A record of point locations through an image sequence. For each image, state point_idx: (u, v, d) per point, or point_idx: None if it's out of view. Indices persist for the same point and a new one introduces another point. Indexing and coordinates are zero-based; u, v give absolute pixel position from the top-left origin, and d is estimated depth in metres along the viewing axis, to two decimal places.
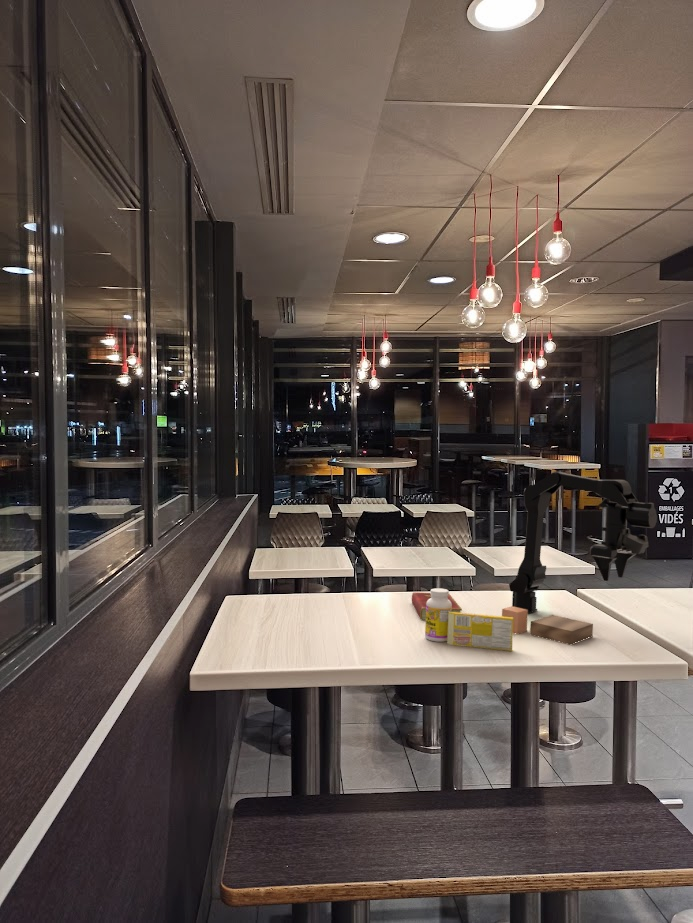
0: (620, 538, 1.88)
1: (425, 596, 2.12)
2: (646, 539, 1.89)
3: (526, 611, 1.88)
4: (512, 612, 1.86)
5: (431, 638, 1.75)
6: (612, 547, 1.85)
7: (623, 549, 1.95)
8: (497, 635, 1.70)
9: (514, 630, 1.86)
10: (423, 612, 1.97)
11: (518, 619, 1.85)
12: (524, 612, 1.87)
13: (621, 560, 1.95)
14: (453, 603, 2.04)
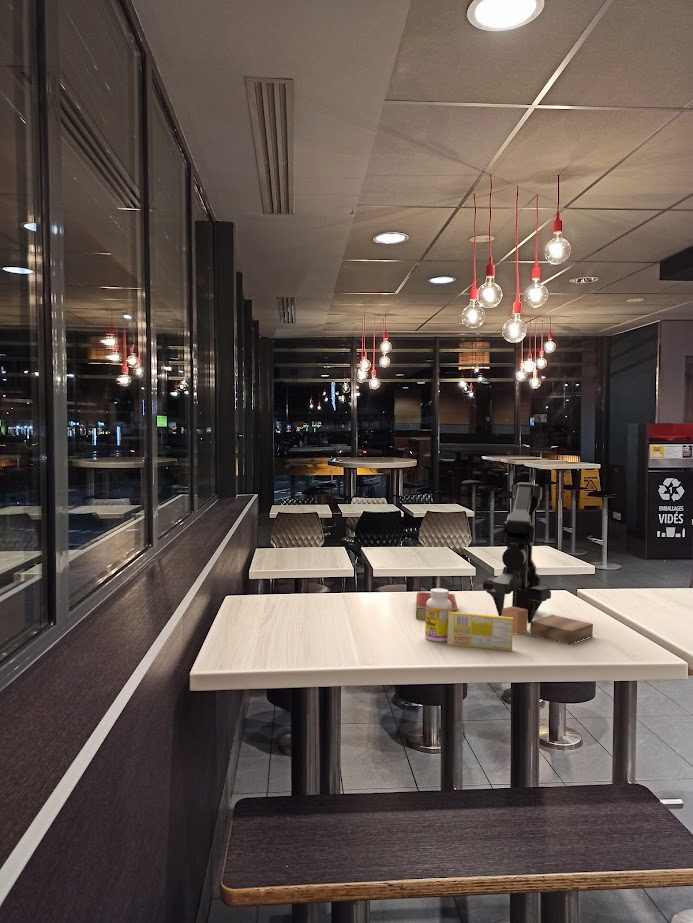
0: None
1: (427, 596, 2.12)
2: (512, 581, 1.81)
3: (526, 611, 1.88)
4: (512, 612, 1.86)
5: (431, 638, 1.75)
6: (490, 581, 1.92)
7: None
8: (497, 635, 1.70)
9: (514, 630, 1.86)
10: (419, 611, 1.98)
11: (518, 619, 1.85)
12: (524, 612, 1.87)
13: None
14: (452, 603, 2.03)
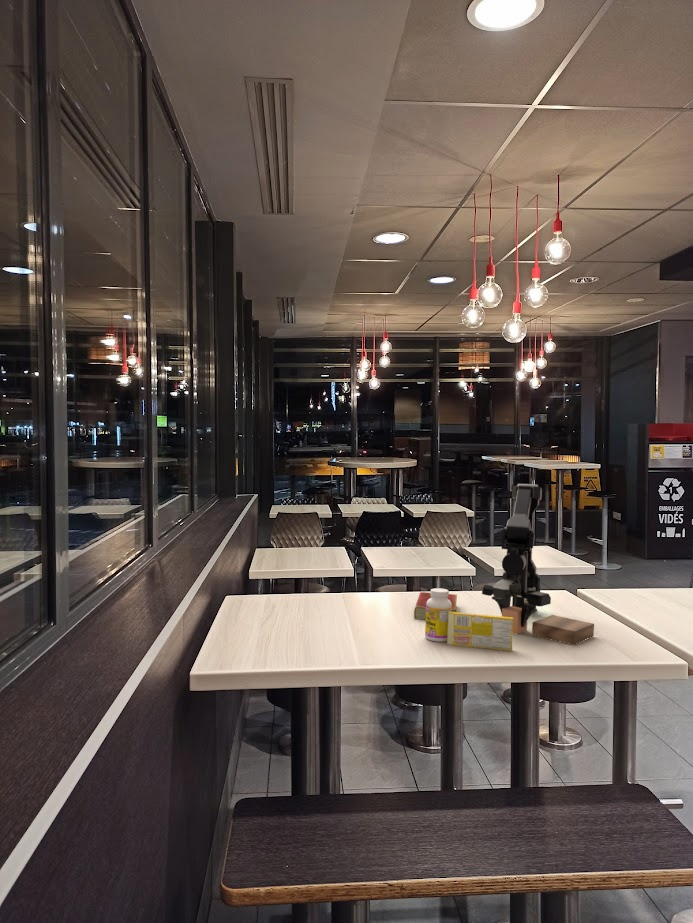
0: None
1: (429, 596, 2.12)
2: (512, 587, 1.81)
3: None
4: (512, 612, 1.86)
5: (431, 638, 1.75)
6: (490, 586, 1.92)
7: None
8: (497, 635, 1.70)
9: (514, 630, 1.86)
10: (417, 611, 1.98)
11: (518, 619, 1.85)
12: None
13: None
14: (452, 604, 2.03)
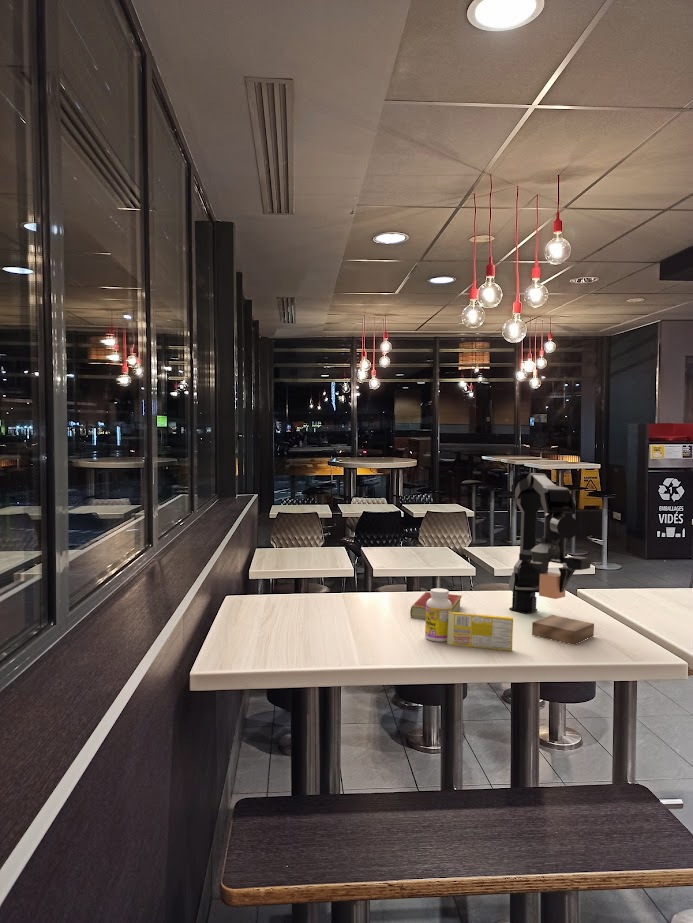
0: None
1: None
2: (551, 550, 1.78)
3: None
4: (550, 577, 1.83)
5: (431, 638, 1.75)
6: (527, 551, 1.89)
7: None
8: (497, 635, 1.70)
9: (552, 595, 1.82)
10: (413, 610, 1.99)
11: (557, 584, 1.82)
12: None
13: None
14: None
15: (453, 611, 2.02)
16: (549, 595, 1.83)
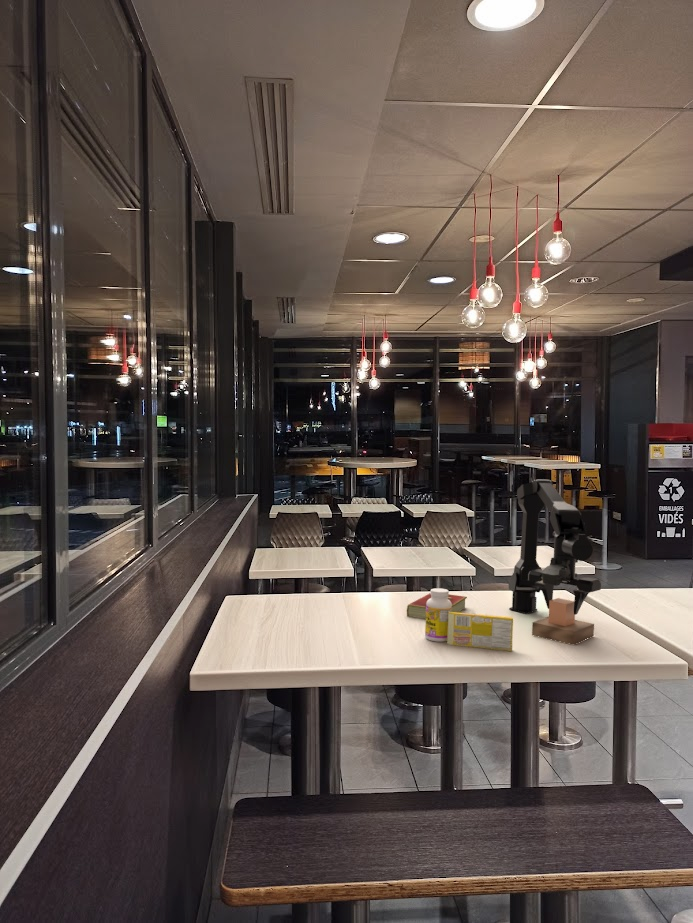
0: None
1: None
2: (562, 572, 1.77)
3: None
4: (560, 604, 1.82)
5: (431, 638, 1.75)
6: (536, 572, 1.88)
7: None
8: (497, 635, 1.70)
9: (562, 622, 1.82)
10: (409, 609, 2.00)
11: (567, 611, 1.82)
12: (572, 604, 1.83)
13: None
14: None
15: None
16: (559, 622, 1.83)
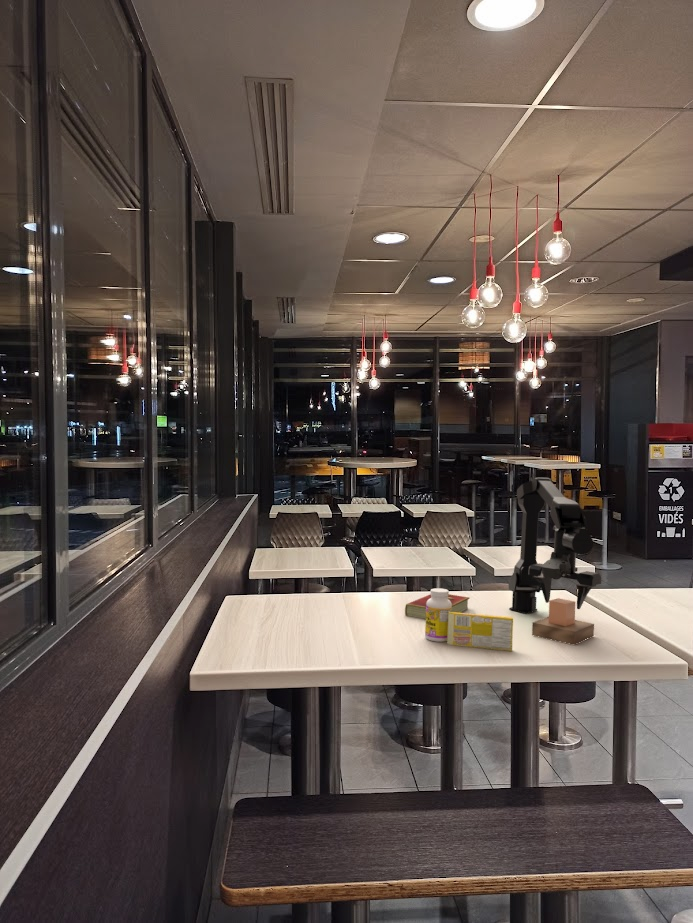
0: None
1: None
2: (562, 566, 1.77)
3: (574, 603, 1.84)
4: (560, 604, 1.82)
5: (431, 638, 1.75)
6: (537, 566, 1.88)
7: None
8: (497, 635, 1.70)
9: (562, 622, 1.82)
10: (408, 608, 2.01)
11: (567, 611, 1.82)
12: (572, 604, 1.83)
13: None
14: None
15: None
16: (559, 622, 1.82)
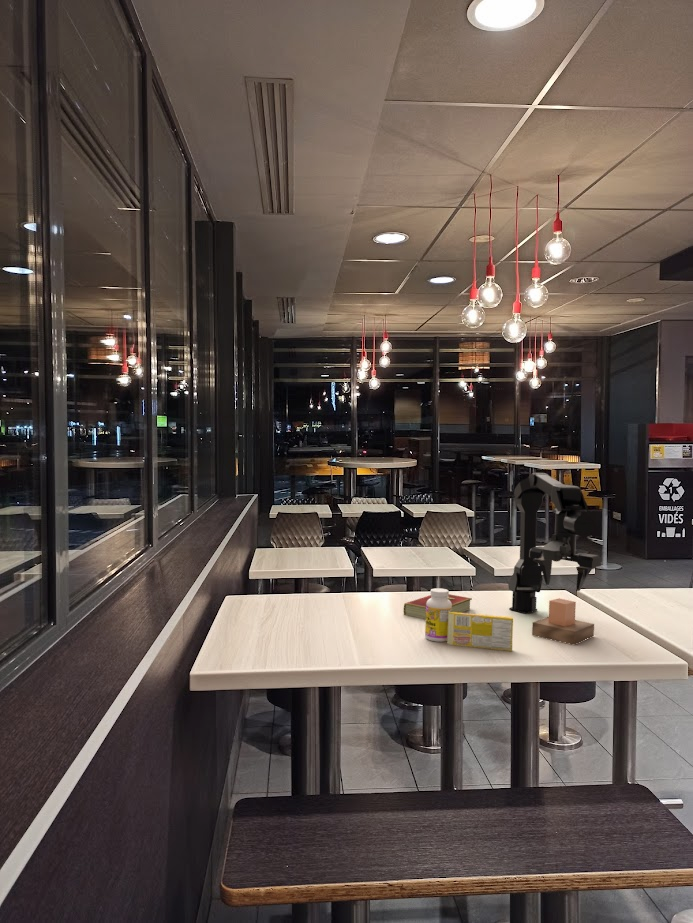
0: None
1: None
2: (562, 548, 1.79)
3: (574, 603, 1.84)
4: (560, 604, 1.82)
5: (431, 638, 1.75)
6: (537, 549, 1.90)
7: None
8: (497, 635, 1.70)
9: (562, 622, 1.82)
10: (406, 607, 2.02)
11: (566, 611, 1.81)
12: (572, 604, 1.83)
13: None
14: None
15: None
16: (559, 622, 1.82)
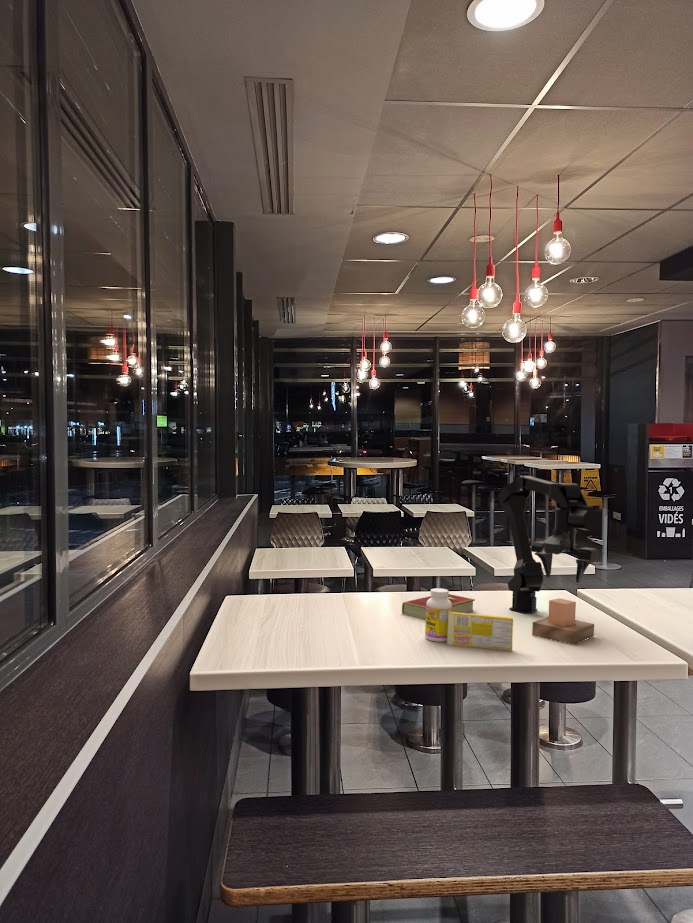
0: None
1: None
2: (562, 542, 1.89)
3: (574, 603, 1.84)
4: (559, 604, 1.83)
5: (431, 638, 1.75)
6: (538, 543, 2.00)
7: None
8: (497, 635, 1.70)
9: (561, 622, 1.82)
10: (405, 606, 2.03)
11: (566, 611, 1.82)
12: (572, 604, 1.83)
13: None
14: None
15: None
16: (558, 622, 1.83)
